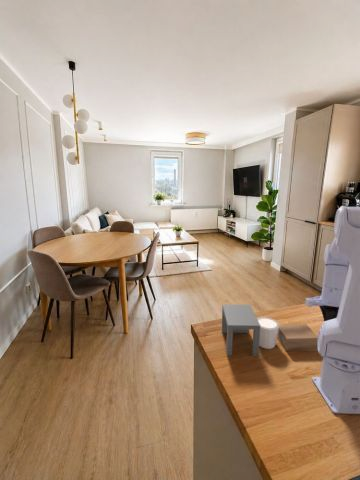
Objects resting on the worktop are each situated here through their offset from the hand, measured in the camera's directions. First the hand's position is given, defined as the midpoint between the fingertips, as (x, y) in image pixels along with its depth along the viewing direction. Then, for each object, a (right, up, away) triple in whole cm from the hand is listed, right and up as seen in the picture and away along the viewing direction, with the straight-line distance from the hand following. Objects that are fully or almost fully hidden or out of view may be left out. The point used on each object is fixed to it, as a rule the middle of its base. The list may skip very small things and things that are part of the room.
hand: (328, 327), depth 71 cm
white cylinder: (-18, -6, +2) cm, 19 cm away
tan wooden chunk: (-9, -6, +2) cm, 11 cm away
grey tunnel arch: (-27, -6, +2) cm, 28 cm away
